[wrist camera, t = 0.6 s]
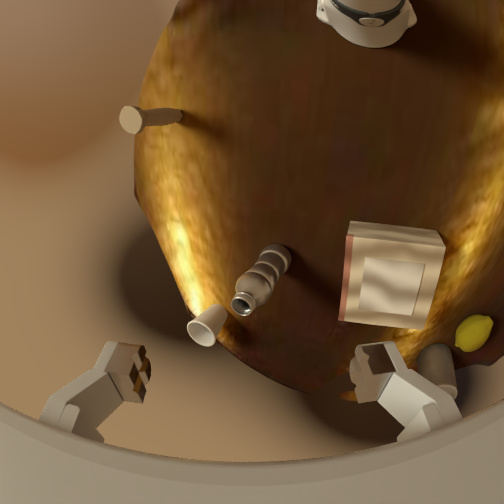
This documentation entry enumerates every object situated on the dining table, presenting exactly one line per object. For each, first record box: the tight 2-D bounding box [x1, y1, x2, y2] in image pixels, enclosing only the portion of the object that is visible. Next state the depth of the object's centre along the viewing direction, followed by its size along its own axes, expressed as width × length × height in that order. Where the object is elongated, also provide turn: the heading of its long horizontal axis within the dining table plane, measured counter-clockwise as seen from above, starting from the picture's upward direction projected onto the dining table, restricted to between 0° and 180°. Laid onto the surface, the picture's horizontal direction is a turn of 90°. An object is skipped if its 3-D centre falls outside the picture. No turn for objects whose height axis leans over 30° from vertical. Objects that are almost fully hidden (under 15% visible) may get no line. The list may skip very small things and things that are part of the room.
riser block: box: [338, 221, 446, 330], centre depth 50 cm, size 18×18×8 cm
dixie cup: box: [187, 304, 228, 346], centre depth 73 cm, size 8×8×10 cm
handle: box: [119, 106, 183, 134], centre depth 50 cm, size 5×6×15 cm
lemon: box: [455, 314, 493, 352], centre depth 46 cm, size 11×8×8 cm
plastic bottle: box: [231, 244, 291, 316], centre depth 54 cm, size 6×7×20 cm
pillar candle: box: [417, 343, 458, 400], centre depth 50 cm, size 10×10×15 cm
